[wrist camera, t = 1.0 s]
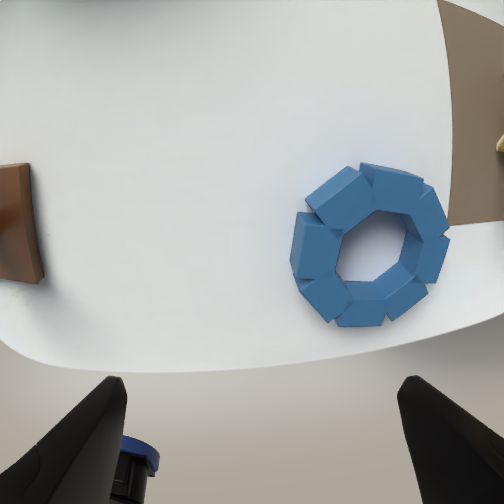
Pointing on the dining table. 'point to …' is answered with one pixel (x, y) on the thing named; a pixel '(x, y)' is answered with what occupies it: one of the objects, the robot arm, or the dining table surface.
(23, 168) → the peg stand
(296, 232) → the blue ring
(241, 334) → the dining table surface
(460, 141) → the platform
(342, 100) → the dining table surface
